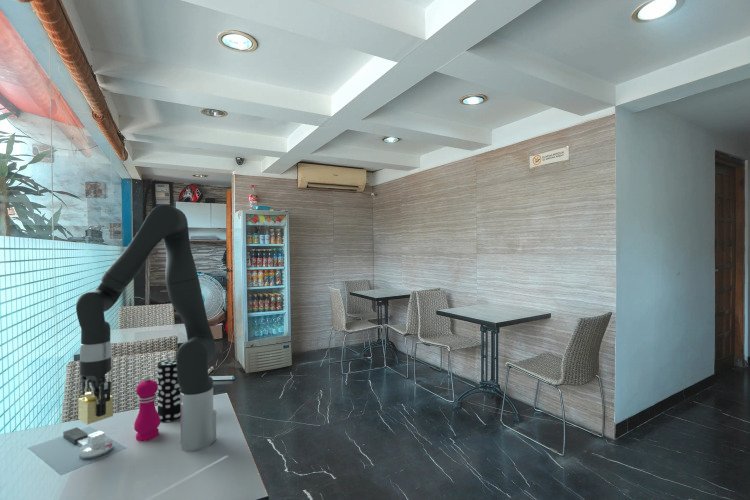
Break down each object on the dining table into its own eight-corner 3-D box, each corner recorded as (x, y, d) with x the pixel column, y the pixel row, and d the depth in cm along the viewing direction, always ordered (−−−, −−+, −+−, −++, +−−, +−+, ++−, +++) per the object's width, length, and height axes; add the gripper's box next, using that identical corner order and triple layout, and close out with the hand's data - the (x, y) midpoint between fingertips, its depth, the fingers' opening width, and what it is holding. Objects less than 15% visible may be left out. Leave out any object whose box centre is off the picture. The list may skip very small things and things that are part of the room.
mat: (90, 427, 126) (90, 426, 126) (126, 449, 112) (126, 447, 112) (27, 449, 113) (27, 447, 113) (60, 476, 99) (60, 475, 99)
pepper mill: (165, 432, 123) (164, 372, 123) (150, 443, 115) (149, 380, 115) (145, 431, 123) (144, 371, 123) (128, 442, 116) (128, 379, 116)
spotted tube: (154, 423, 129) (154, 366, 129) (161, 413, 137) (161, 359, 137) (180, 420, 131) (180, 364, 131) (186, 410, 139) (185, 357, 139)
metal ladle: (84, 429, 124) (84, 413, 124) (117, 449, 111) (117, 431, 111) (54, 440, 117) (54, 423, 117) (86, 463, 104) (85, 443, 104)
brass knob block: (103, 410, 114) (103, 385, 114) (112, 416, 111) (112, 389, 111) (78, 419, 109) (78, 392, 109) (87, 424, 106) (87, 396, 106)
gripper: (121, 357, 109) (121, 414, 109) (100, 350, 117) (99, 402, 117) (91, 364, 103) (91, 424, 103) (70, 356, 111) (70, 411, 111)
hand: (95, 412), depth 110 cm, fingers closed on brass knob block, 6 cm apart
